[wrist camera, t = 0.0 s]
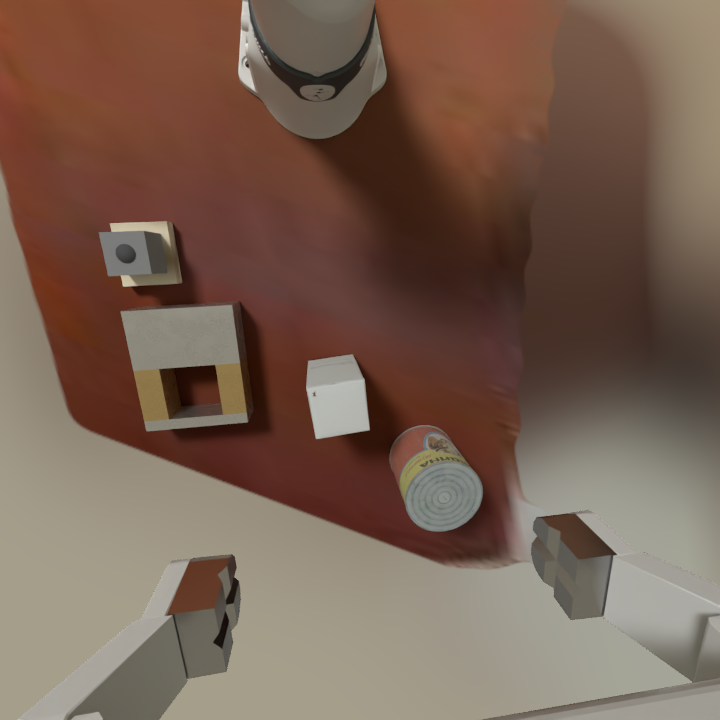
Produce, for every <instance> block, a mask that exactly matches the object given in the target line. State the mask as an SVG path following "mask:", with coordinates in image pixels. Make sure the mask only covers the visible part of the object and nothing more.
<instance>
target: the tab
mask: <svg viewBox="0 0 720 720" xmlns="http://www.w3.org/2000/svg"><path fill="white" fill-rule="evenodd" d="M110 226H111V231H112V232H123V231H148V232H154V233H159V234H161V238H162V244H163V249H164V255H165V260H166V266H167V272H168V273H158V274H141V275H121V278H122V283H123V287H125V286H144V285H163V284H179V283H182V277H181V271H180V265H179V259H178V253H177V247H176V241H175V236H174V230H173V224H172V223H171V222H167V221H163V222H136V223H110Z"/></svg>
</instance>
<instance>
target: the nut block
mask: <svg viewBox="0 0 720 720" xmlns="http://www.w3.org/2000/svg"><path fill="white" fill-rule="evenodd" d="M99 235H100V240H101V245H102V249H103V254H104V258H105V263H106V267H107V272H108V276H121V275H141V274H158V273H168V272H167V266H166V260H165V255H164V249H163V244H162V238H161V234H159V233H154V232H148V231H123V232H99Z"/></svg>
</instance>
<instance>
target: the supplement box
mask: <svg viewBox="0 0 720 720" xmlns="http://www.w3.org/2000/svg"><path fill="white" fill-rule="evenodd" d="M306 389H307V395H308V400H309V406H310V411H311V416H312V421H313V426H314V431H315V436H316V439H320V438H326V437H332V436H338V435H344V434H350V433H356V432H362V431H368V430H370V427H369V418H368V408H367V397H366V387H365V379H364V378H363V376H362V374H361V371H360V369H359V367H358V364H357V362H356V360H355V358H354V356H353V355H345V356H338V357H331V358H325V359H318V360H312V361H308V371H307V385H306Z"/></svg>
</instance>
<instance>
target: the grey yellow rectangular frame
mask: <svg viewBox="0 0 720 720" xmlns="http://www.w3.org/2000/svg"><path fill="white" fill-rule="evenodd" d="M121 316H122V320H123V325H124V330H125V334H126V339H127V343H128V348H129V353H130V357H131V362H132V367H133V371H134V376H135V380H136V385H137V390H138V394H139V399H140V404H141V408H142V413H143V417H144V422H145V427H146V431H156V430H168V429H179V428H190V427H201V426H213V425H224V424H235V423H247V422H248V421H249V419H250V417H251V414H252V412H253V410H254V407H253V399H252V392H251V384H250V376H249V369H248V361H247V354H246V346H245V338H244V331H243V323H242V316H241V308H240V301H233V302H216V303H199V304H181V305H164V306H147V307H137V308H133V309H129V310H125V311H121ZM207 365H215V366H216V372H217V379H218V385H219V392H220V398H221V403H213V404H201V405H189V406H181V401H180V395H179V390H178V384H177V379H176V374H175V368H180V367H193V366H207Z"/></svg>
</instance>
